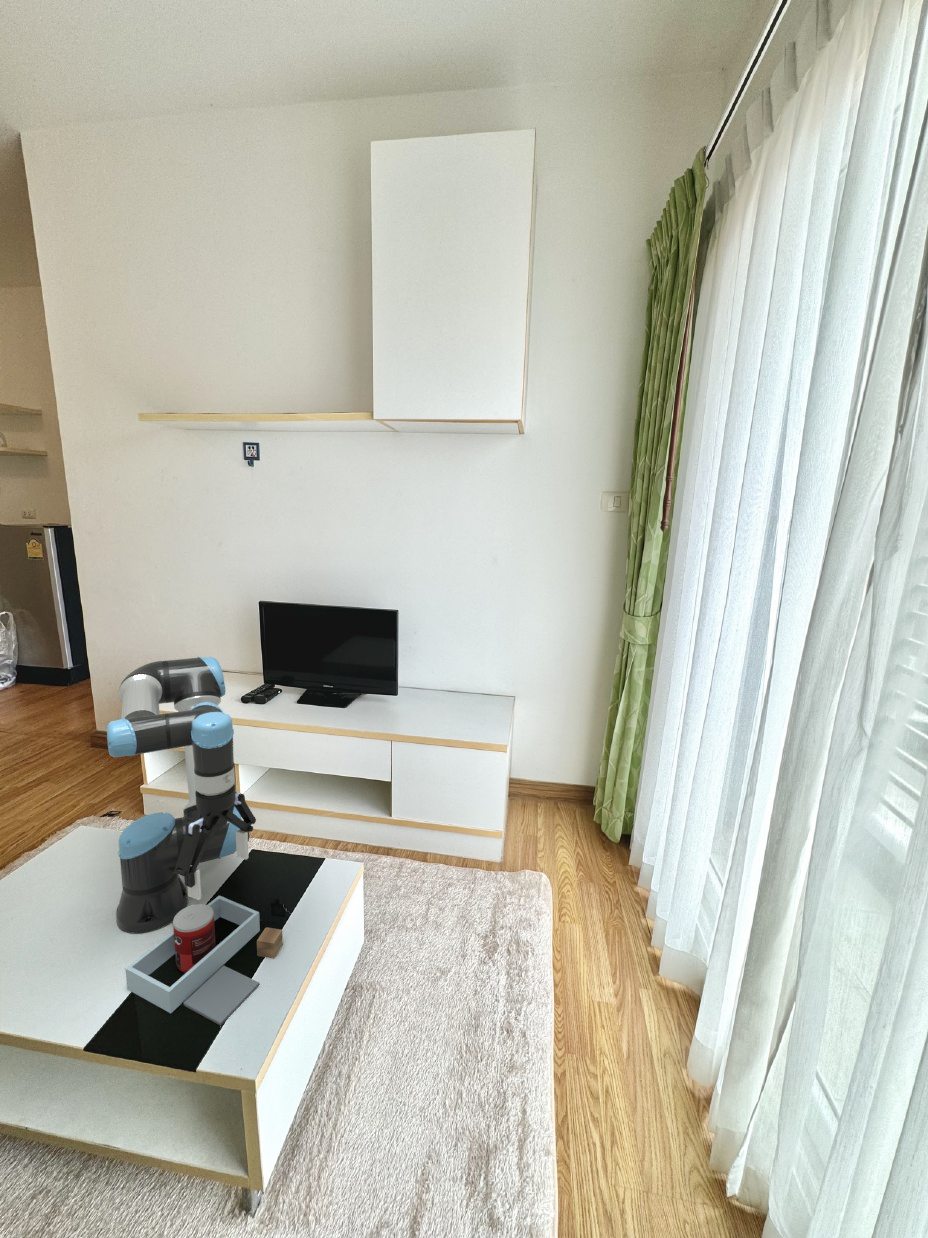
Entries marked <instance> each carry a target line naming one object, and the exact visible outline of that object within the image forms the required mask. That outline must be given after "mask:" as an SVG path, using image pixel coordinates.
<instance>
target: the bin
mask: <svg viewBox="0 0 928 1238" xmlns="http://www.w3.org/2000/svg"><path fill="white" fill-rule="evenodd" d="M207 905H208V906H210V907H211V908H212V909H213V913H214V922H216V920H218V919H219V918H222V919H224V920H227V921H229V922H231V923H233V924H235V925H238V927H237V928H236V929H234V930H233V931H232V932H231V933H230V934H229V935H228V936H226V937H225V938H224V939H223V940H222V941H220V942H219V944H217V945H215V948H214V949H213V950H212V951H211V952H209V953H208V954H207V955H206V956H205V957H204V958H203V959H201V960H200V961H199V962H198V963H197V964H196V965H195V966H193V967H192V968H191V969H190V970H189V971H188V972H187V973H184V974H183V975H182V976H181V977H180V978H179V979H177V981H175V982H174V983H173V984H171V986H169V985H166V984H164V983H163V982H161V981H159V980H157V979H155V978H153V977H152V976H150V975H151V974H152V973H153V972H154V971H156V970H157V969H159V967H161V966H163V964H164V963H166V962H167V961H168V960H169V959H170V958H172V957H173V956H174V955H175V944H174V931H171V932H170V933H169V934H167V935H166V936H165V937H164V938H163V939H162V940H160V941H159V942H157V943H156V944H155V945H154V946H152V947H151V948H150V949H149V950H147V951H145V953H144V954H142V955H140V956H139V957H138V958H137V959H135V960H134V961H133V962H132V963H130V964H129V965H128V966H126V968H124V969H125V979H126V989H127V990H128V991H130V992H131V993H133V994H134V995H137V996H138V997H140V998H142V999H144V1000H146V1001H147V1002H149V1003H150V1004H152V1005H155V1006H156V1007H158V1008H160V1009H162V1010H163V1011H165V1012H167V1013H168V1014H172V1013H173V1012H174V1011H175V1010H176V1009H177V1008H179V1006H181V1005H182V1003H184V1002H185V1001H186V1000H187V999H188V998H189V997H190V996H191V995H192V994H193V993H194V992H196V991H197V990H198V989H199V988H200V987H201V986H202V985H203V984H204V983H205V982H206V981H207V980H208V979H210V978H211V977H212V976H213V975H214V974H215V973H216V972H217V971H218V970H219V969H220V968H221V967H222V966H223V965H224V966H225V964H226V963H227V962H228V961H229V960H230V959H231V958H232V957H233V956H235V955H236V954H237V953H238V952H239V951H240V950H241V949H242V948H243V947H244V946H246V944H247V943H248V942H249V941H251V939H253V937H255V936H256V935H257V934H258V933H260V931H261V929H260V926H261V925H260V912H259V911H257V910H256V909H255V910H254V909H253V908H250V907H247V906H245V905H243V904H241V903H239V902H238V903H237V902H236V901H233V900H231V899H228V898H226V897H224V896H221V895H218V896H216V898H214V899H213V900H211V901H210V902H209V903H208V904H207Z"/></svg>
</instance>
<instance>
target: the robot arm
mask: <svg viewBox="0 0 928 1238" xmlns="http://www.w3.org/2000/svg"><path fill="white" fill-rule="evenodd" d="M222 669H223V668H222V666H221V664H220V662H219V660H218V659H217V658H215V657H213V656H207V657H206V656H204V657H201V656H197V657H191V658H180V659H170V660H159V661H157V660H156V661H153V662H149V663H146V664H143V665H142V666H139V667H137V668H135V669H134V670H133V671H131V672H130V673H128V674H127V675H126V676H125V678H123V680H122V681H121V682H120V685H119V689H118V698H119V700H120V702H121V705H122V706H121V714H120V715H121V716H120V719H117V720H112V721H110V722H108V723H107V726H106V728H107V729H106V740H107V750H108V754H109V756H111V757H113V758H119V757H126V756H127V757H133V756H137V755H142V754H149V753H153V752H159V751H165V750H166V751H167V750H173V749H177V748H184V756H185V757H184V758H185V769H186V780H187V789H188V802H187V804H186V805H185V807H184V808H183V809H182V811H183V816H181V817H178V818H175V817H174V815H172V814H171V813H170V812H164V813H163V812H155V813H154V812H153V813H151V814H150V813H149V814H148V815H144V816H142V817H140V818H138V819H136V820H135V821H132V822H131V823H130V824H129V825H127V826H126V827H125V828H124V829H123V830H122V832H121V834H120V835H119V838H118V852H117V854H118V858H119V862H120V873H121V885H122V891H121V894H120V895H121V896H120V898H119V902H118V905H117V908H116V911H115V915H116V916H115V917H116V925H117V927H118V928H119V929H120V930H121V931H123V932H125V933H130V934H144V933H149V932H152V931H157V930H159V929H162V928H164V927H166V926H168V925H170V924H171V923H173V920H174V917H175V916H176V914H177V913H178V912H179V911H181V910H182V909H184V908H186V907H188V903H189V899H188V898H189V897H190V898H192V899H194V900H197V901H199V900H200V899H202V887H201V886H202V885H201V884H202V883H201V871H200V869H198V867H199V865H200V864H201V863H205V862H209V861H212V860H217V859H221V858H224V857H227V856H229V855H232V854H235V853H236V857H237V858H240V859H242V860H245V861H246V860H248V859H249V855H250V854H249V842H250V833H251V832H252V831H253V830H254V826H252V825H255V824H256V821H257V819H256V817H255V815H254V813H253V812H252V811H251V809H250V807H249V806H248V803H247V802H246V798H245V794H244V793H240V792H237V791H236V785H235V781H236V779H235V758H234V756H235V755H234V733H235V731H234V727H233V719H232V717H231V716H230V715H229V714H227V713H225V712H224V711H223V710H222V708H221V707H220V706H219V705H220V704H221V702H222V700H221V698H222V697H223V696H224V697H225V694H226V684H225V676H224V673H223V670H222ZM169 703H170V704H171V703H173V709H175V710H176V711H174V712H169V713H161V712H160V704H169ZM180 876H182V877H183V878H184V882H183V880H182V878H181V877H180ZM186 887H187V888H186Z"/></svg>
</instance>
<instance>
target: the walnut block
mask: <svg viewBox="0 0 928 1238" xmlns="http://www.w3.org/2000/svg"><path fill="white" fill-rule="evenodd" d="M283 942H284V939H283V929H279V928H272V927H265V928H264V930H263V931H262V932H261V934H260V935H259V937H258V939H257V940H256V951H257V952H256V955H257V957H262V958H267V959H273V960H274V959H276V957H277V955H278V954H279V951H280V950H281V948H282V947H283V944H284V943H283Z"/></svg>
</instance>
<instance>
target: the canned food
mask: <svg viewBox="0 0 928 1238" xmlns="http://www.w3.org/2000/svg"><path fill="white" fill-rule="evenodd" d="M172 928H173V931H174V944H175V954H174V955H175V965H176V967H177V969H178V970H179V972H182V973H184V974H186V973H187V972H188V971H189V970H190V969H191V968H192V967H193V966H195V965H196V964H197V963H198V962H199V961H200V960H201V959H203V958H204V957H205V956H206V955H207V954H208V953H209V952H211V951H212V950H213V949H214V948H215V947H216V934H215V933H216V932H215V931H216V930H215V921H214V913H213V909H212V908H211V907H210V906H208V904H205V903H198V904H197V903H196V904H191V905H189V906H188V905H187V907H186V908H184V909H182V910H181V911H179V912H178V913H177V914H176V916H175V917H174V920H173V922H172ZM173 931H172V932H173Z"/></svg>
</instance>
